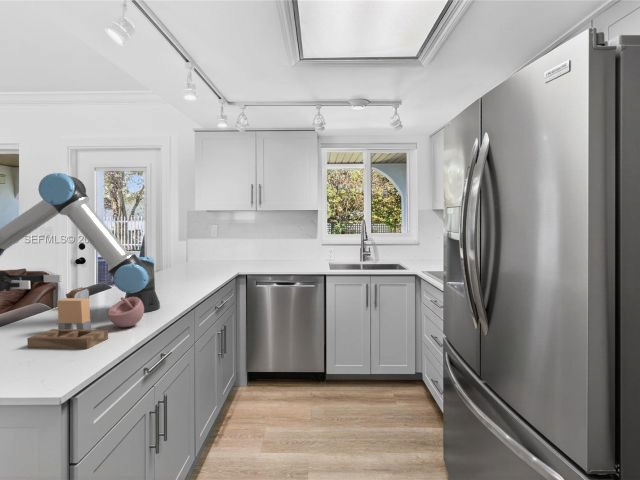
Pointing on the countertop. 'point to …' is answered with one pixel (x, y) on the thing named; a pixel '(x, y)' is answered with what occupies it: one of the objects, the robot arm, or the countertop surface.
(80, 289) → the tin
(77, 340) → the wooden compartment tray
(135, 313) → the mortar and pestle
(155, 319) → the countertop surface
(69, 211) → the robot arm
